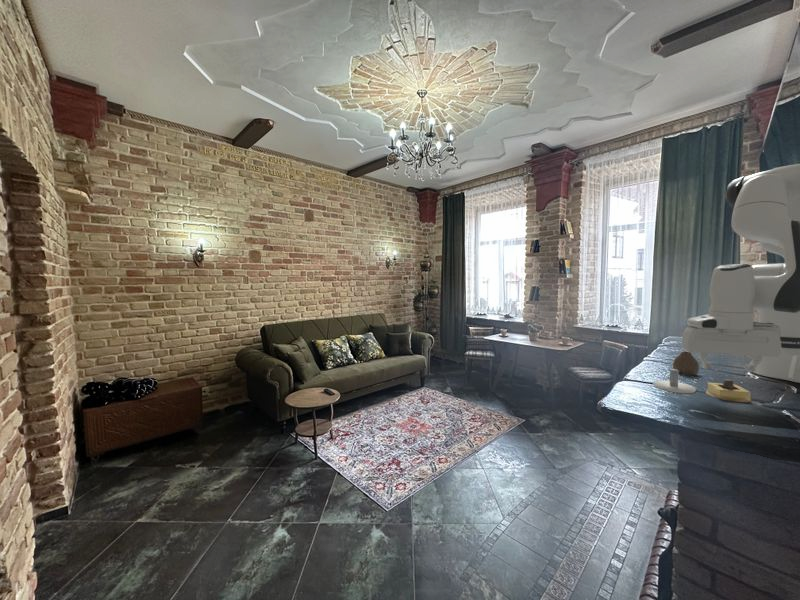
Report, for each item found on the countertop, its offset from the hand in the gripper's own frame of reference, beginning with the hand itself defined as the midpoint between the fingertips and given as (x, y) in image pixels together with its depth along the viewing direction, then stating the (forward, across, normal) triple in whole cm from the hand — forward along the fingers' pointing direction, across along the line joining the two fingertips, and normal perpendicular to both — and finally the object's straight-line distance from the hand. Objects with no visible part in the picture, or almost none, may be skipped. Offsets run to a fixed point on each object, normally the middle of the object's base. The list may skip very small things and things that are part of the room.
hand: (727, 369), depth 89 cm
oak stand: (+9, 0, 0) cm, 9 cm away
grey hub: (+9, +10, -4) cm, 15 cm away
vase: (+9, 0, -24) cm, 25 cm away
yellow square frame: (+8, 0, 0) cm, 8 cm away
